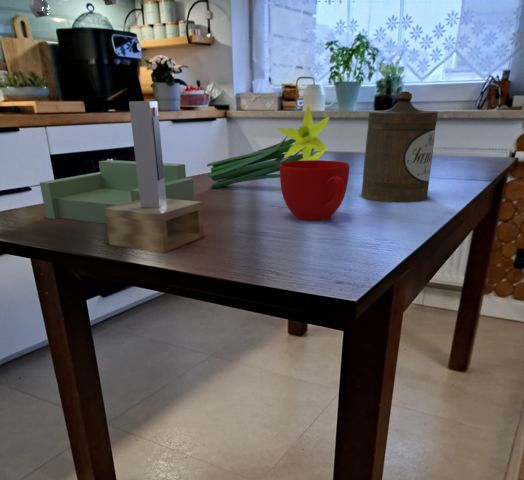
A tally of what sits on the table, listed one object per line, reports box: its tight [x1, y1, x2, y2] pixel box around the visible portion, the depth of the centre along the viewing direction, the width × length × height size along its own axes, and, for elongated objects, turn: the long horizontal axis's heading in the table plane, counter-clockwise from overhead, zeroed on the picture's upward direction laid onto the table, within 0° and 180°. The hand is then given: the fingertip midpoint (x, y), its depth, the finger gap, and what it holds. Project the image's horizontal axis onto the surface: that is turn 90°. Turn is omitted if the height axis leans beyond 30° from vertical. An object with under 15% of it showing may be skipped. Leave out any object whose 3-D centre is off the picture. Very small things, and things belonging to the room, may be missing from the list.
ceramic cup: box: [279, 159, 350, 222], centre depth 97 cm, size 13×17×10 cm
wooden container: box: [361, 91, 438, 203], centre depth 115 cm, size 15×15×22 cm
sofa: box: [39, 159, 196, 224], centre depth 102 cm, size 25×17×10 cm
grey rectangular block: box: [128, 100, 166, 208], centre depth 80 cm, size 3×4×15 cm
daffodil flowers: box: [206, 105, 330, 190], centre depth 127 cm, size 17×15×35 cm
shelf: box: [104, 199, 204, 253], centre depth 84 cm, size 11×11×6 cm
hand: (73, 6), depth 63 cm, fingers open, 8 cm apart
